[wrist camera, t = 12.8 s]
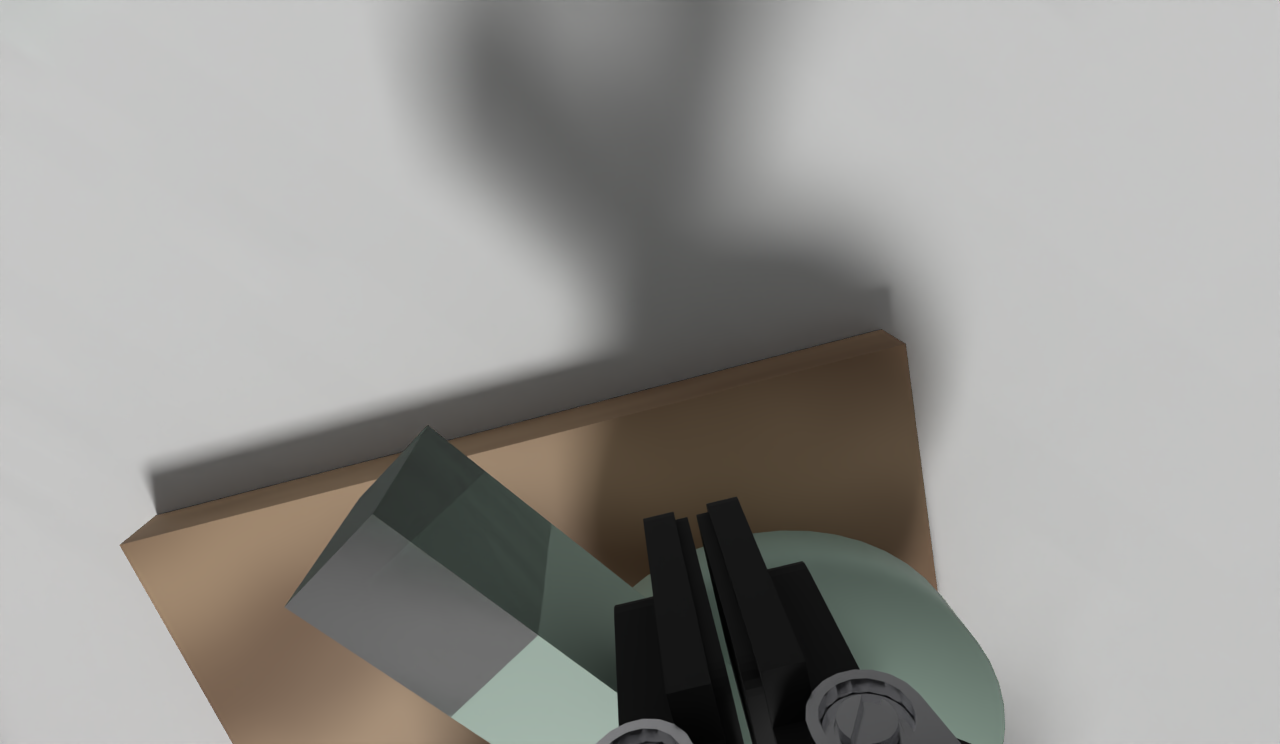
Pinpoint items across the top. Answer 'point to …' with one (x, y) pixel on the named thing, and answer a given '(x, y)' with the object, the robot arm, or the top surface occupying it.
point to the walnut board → (565, 496)
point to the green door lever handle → (582, 608)
